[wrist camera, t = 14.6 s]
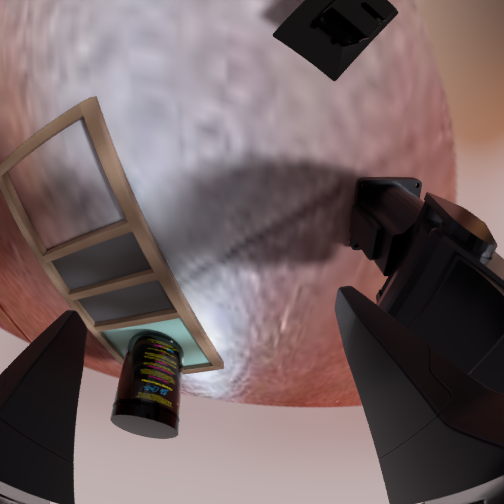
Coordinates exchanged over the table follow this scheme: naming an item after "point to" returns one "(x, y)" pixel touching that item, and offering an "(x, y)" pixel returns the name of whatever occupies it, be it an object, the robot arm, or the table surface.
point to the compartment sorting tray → (113, 260)
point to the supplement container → (150, 386)
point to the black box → (334, 31)
